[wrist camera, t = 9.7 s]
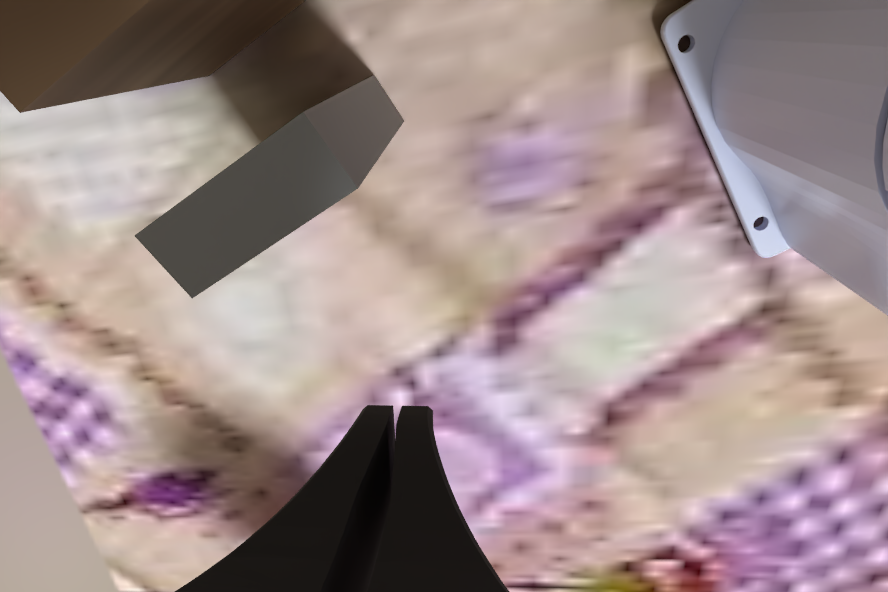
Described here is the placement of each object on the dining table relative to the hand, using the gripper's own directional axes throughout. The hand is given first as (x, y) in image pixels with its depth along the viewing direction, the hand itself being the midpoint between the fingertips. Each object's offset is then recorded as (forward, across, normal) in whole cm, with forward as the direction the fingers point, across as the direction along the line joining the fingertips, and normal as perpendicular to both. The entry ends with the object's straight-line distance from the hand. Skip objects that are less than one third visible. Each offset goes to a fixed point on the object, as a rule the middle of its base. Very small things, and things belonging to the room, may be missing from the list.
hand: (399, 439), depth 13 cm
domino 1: (+10, +6, -9) cm, 15 cm away
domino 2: (+10, +3, -5) cm, 12 cm away
